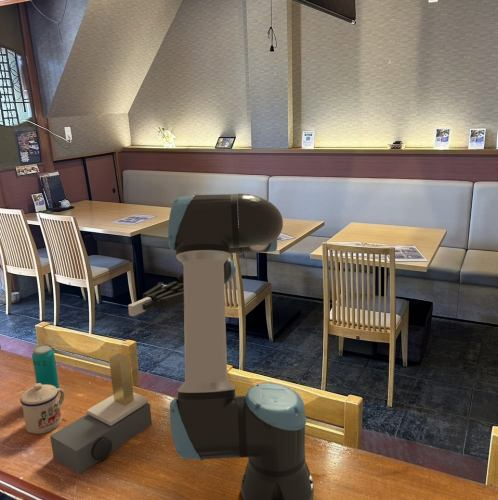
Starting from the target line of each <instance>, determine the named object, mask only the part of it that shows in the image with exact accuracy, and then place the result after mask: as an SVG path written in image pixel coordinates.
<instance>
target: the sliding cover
mask: <svg viewBox="0 0 498 500" xmlns="http://www.w3.org/2000/svg"><path fill="white" fill-rule="evenodd" d="M108 360H109V368H110V377H111V384H112V386H111V387H112V395H111V396H109V397H107V398H105V399H103V400H102V401H100V402H98V403H96V404H95V405H93V406H91V407H90V408H88V409H86V414H88V415H90V416H92V417H94V418H96V419H98V420H100V421H102V422H104V423H106V424H108V425H110V426H112V425H113V424H115V423H116V422H118V421H119V420H121V419H123V418H124V417H126V416H127V415H129V414H130V413H132V412H134V411H135V410H137V409H138V408H140V407H141V406H143V405H144V404H146V403H149V398H147V397H145V396H143V395H141V394H139V393H136V392H134V390H133V381H132V380H133V379H132V378H133V377H132V369H131V359H130V357H129V356H126V355H123V354H121V353H116V354H114V355H112V356H110V357H109V358H108Z"/></svg>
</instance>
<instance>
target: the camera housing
mask: <svg viewBox="0 0 498 500" xmlns="http://www.w3.org/2000/svg"><path fill="white" fill-rule="evenodd" d="M152 424H153V423H152V412H151V403H149V402H148V403H146V404H144V405H143V406H141V407H140V408H138V409H137V410H135V411H134V412H132V413H130V414H129V415H127V416H126V417H124V418H123V419H121V420H119V421H118V422H116V423H115V424H113V425H112V426H110V425H108V424H106V423H104V422H102V421H100V420H98V419H96V418H94V417H92V416H90V415H88V414H87V413H86V414H85V415H83V416H81V417H79V418H78V419H76V420H74V421H72V422H71V423H69V424H68V425H66V426H64V427H63V428H61V429H59V430H57V431H55V432H54V433H52V434H51V435H49V437H50V443H51V450H52V456H53V458H54V459H55V460H57V461H58V462H60V463H61V464H63V465H65V466H66V467H67V468H69V469H71V470H73V471H74V472H76V473H77V474H80V475H81V474H82V473H84V472H85V471H86V470H88V469H90V468H91V467H93V465H95V464H96V463H98V462H102V461H104V460H106V459H107V458H108V457H109V455H110V454H111V453H112V452H114V451H115V450H117V449H118V448H120V447H122V446H123V445H124V444H125V443H127V442H129V441H130V440H131V439H134V437H136V436H138V435H139V434H140V433H142V432H143V431H145V430H146V429H148V428H149V427H151V426H152Z"/></svg>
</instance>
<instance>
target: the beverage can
mask: <svg viewBox="0 0 498 500" xmlns="http://www.w3.org/2000/svg"><path fill="white" fill-rule="evenodd" d="M31 354H32V355H31V357H32V358H31V359H32V365H33V370H34V377H35V384H37V383H41V384H42V385H53V386H55V387H56V388H60V381H59V375H58V369H57V362H56V357H55V355H56V354H55V351H54V349H53V346H52V345H51V344H40V345H37V346H35V347H34V348H32V353H31ZM58 394H60V392H58Z"/></svg>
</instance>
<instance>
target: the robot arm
mask: <svg viewBox="0 0 498 500" xmlns="http://www.w3.org/2000/svg"><path fill="white" fill-rule="evenodd" d="M283 223H284V220H283V216H282V214H281V212H280V210H279V209H278V208H277V207H276V206H275V204H273V203H272V202H271V201H268V200H267V199H265V198H262V197H260V196H257V195H254V194H249V193H232V194H231V193H230V194H226V193H224V194H223V193H222V194H193V195H184V196H178V197H177V198H176V199H174V200H173V203H172V205H171V208H170V212H169V218H168V225H167V227H168V228H167V234H168V235H167V242H168V243H167V244H168V248H169V249H170V250H171V251H174V252H175V258H176V260H178V261H179V263H181V264H182V267H183V273H181V274H178V276H177V278H176V279H175V281H172V282H169V283H168V284H164V282H158V283H157V285H155V286H153V287H152V288H151V289H149V290H147V291H146V292H145V291H144V293H142V299H139V300H137V301H135V302H131V303H130V304H128V305H127V307H128V308H127V309H128V315H129V316H130V317H135V316H137V315H139V314H142V313H144V312H146V311H149V310H150V309H153V308H155V309H156V308H159V309H165V308H169V307H171V306H175V305H178V304H181V303H183V313H184V314H183V315H184V316H183V318H184V321H183V323H184V324H183V325H184V328H183V329H184V332H183V333H184V379H185V380H184V382H183V384H182V385H181V386H180V387H179V388H178V389H177V397H175V398H173V399H172V400H171V401H170V403H169V404H170V405H169V413H170V414H169V420H170V421H169V422H170V430H171V431H170V432H171V436H172V442H173V445H174V449H175V451H176V453H177V455H178V457H180V458H181V459H183V460H199V461H202V462H203V461H204V460H214V459H216V460H217V459H218V460H219V459H221V460H222V459H239V458H248V461H247V464H246V466H245V470H244V473H243V476H242V479H241V484H240V488H241V490H240V491H241V498H242V500H314V497H315V496H314V495H315V491H314V490H315V487H314V480H313V477H312V475H311V472H310V469H309V467H308V464H307V461H306V424H307V417H306V413H305V412H306V411H305V409H306V408H305V402H304V400H303V399H302V396H301V395H300V394H299V393H298V392H297V391H295V390H293V389H291V388H290V387H289V386H286V385H283V384H280V383H273V382H262V383H258V384H256V385H252V386H251V387H250V388H249V389H248V390H247V392H246V393H245V395H239V396H236V386H234V384H233V383H232V382H231V381H229V379H228V360H227V359H228V358H227V332H226V330H227V328H226V327H227V326H226V301H225V299H226V297H225V294H226V293H225V284H226V283H228V282H230V281H231V280H233V278H234V277H236V271H237V269H236V265H235V263H234V261H233V260H232V259H231V254H243V253H244V254H247V253H251V254H252V253H264V254H265V253H271V252H276V251H277V250H278V238H279V237H280V235H281V233H282V230H283V227H284V225H283Z"/></svg>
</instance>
